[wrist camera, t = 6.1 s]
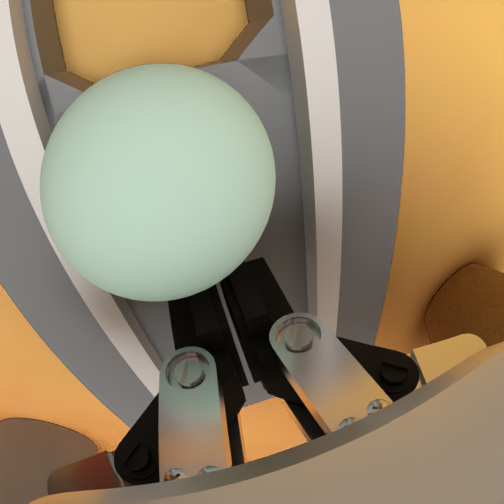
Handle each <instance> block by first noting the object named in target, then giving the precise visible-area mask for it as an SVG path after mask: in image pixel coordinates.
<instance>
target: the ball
mask: <svg viewBox="0 0 504 504" xmlns="http://www.w3.org/2000/svg"><path fill="white" fill-rule="evenodd" d="M275 183H276V172H275V161H274V156H273V151H272V146H271V143H270V141H269V138H268V135H267V132H266V130H265V128H264V126H263V124H262V122H261V120H260V118H259V117H258V115H257V114H256V112H255V111H254V110H253V108H252V107H251V105H250V104H249V103H248V102H247V101H246V100H245V99H244V98H243V97H242V96H241V94H240V93H238V92H237V91H236V90H235V89H234V88H232V87H231V86H230V85H229V84H227V83H226V82H224V81H222V80H221V79H219V78H217V77H216V76H214V75H212V74H210V73H207V72H205V71H202V70H200V69H197V68H193V67H189V66H185V65H179V64H171V63H152V64H145V65H139V66H133V67H130V68H127V69H123V70H120V71H118V72H115V73H113V74H111V75H109V76H107V77H105V78H103V79H101V80H100V81H98V82H96V83H95V84H93V85H92V86H90V87H89V88H88V89H87V90H85V91H84V92H83V93H82V94H81V95H79V96H78V97H77V98H76V99H75V100H74V102H73V103H72V104H71V105H70V106H69V107H68V108H67V109H66V111H65V112H64V114H63V115H62V116H61V118H60V119H59V121H58V122H57V124H56V126H55V128H54V130H53V132H52V134H51V136H50V138H49V141H48V144H47V146H46V149H45V152H44V157H43V161H42V165H41V174H40V200H41V207H42V213H43V216H44V220H45V223H46V226H47V229H48V231H49V233H50V236H51V238H52V240H53V242H54V244H55V245H56V247H57V249H58V250H59V252H60V253H61V255H62V256H63V257H64V258H65V260H66V261H67V262H68V263H69V265H70V266H71V267H72V268H73V269H74V270H75V271H77V272H78V273H79V274H80V275H81V276H82V277H84V278H85V279H86V280H88V281H89V282H90V283H92V284H94V285H95V286H97V287H99V288H101V289H103V290H105V291H107V292H109V293H112V294H114V295H117V296H120V297H124V298H128V299H132V300H140V301H169V300H176V299H180V298H184V297H188V296H191V295H194V294H196V293H199V292H201V291H204V290H206V289H208V288H210V287H211V286H213V285H215V284H217V283H218V282H220V281H221V280H223V279H224V278H225V277H227V276H228V275H229V274H231V273H232V272H233V271H234V270H235V269H236V268H237V267H238V266H239V265H240V264H241V263H242V262H243V261H244V260H245V258H246V257H247V256H248V255H249V254H250V252H251V251H252V250H253V248H254V247H255V245H256V243H257V242H258V240H259V239H260V237H261V235H262V233H263V231H264V229H265V227H266V225H267V222H268V219H269V216H270V213H271V210H272V206H273V200H274V195H275Z"/></svg>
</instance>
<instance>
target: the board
mask: <svg viewBox="0 0 504 504" xmlns="http://www.w3.org/2000/svg"><path fill="white" fill-rule="evenodd" d="M245 3H246V9H247V15H248V21H249V24H248V25H247V26H246V28H245V29H244V30H243V31H242V33H241V34H240V35H239V36H238V37H237V39H236V40H235V41H234V42H233V44H232V45H231V46H230V48H229V49H228V50H227V51H226V53H225V54H224V55H223V57H222V58H221V59H220V61H217V62H211V63H206V64H201V65H197V66H192V67H193V68H197V69H200V70H202V71H205V72H207V73H210V74H212V75H214V76H216V77H217V78H219V79H221V80H222V81H224V82H226V83H227V84H229V85H230V86H231V87H232V88H234V89H235V90H236V91H237V92H238V93H240V94H241V96H242V97H243V98H244V99H245V100H246V101H247V102H248V103H249V104H250V105H251V107H252V108H253V110H254V111H255V112H256V114H257V115H258V117H259V118H260V120H261V122H262V124H263V126H264V128H265V130H266V132H267V135H268V138H269V141H270V143H271V146H272V151H273V156H274V161H275V172H276V183H275V195H274V200H273V206H272V210H271V213H270V216H269V219H268V222H267V225H266V227H265V229H264V231H263V233H262V235H261V237H260V239H259V240H258V242H257V243H256V245H255V247H254V248H253V250H252V251H251V252H250V254H249V255H248V256H247V257H246V258H245V260H244V261H245V262H247V261H250V260H254V259H257V258H260V257H263V258H264V259H265V261H266V263H267V264H268V266H269V268H270V270H271V272H272V273H273V275H274V277H275V279H276V281H277V282H278V284H279V286H280V288H281V290H282V291H283V293H284V295H285V297H286V299H287V300H288V302H289V304H290V306H291V308H292V309H293V311H294V313H298V312H303V313H309V314H312V315H314V316H317V317H318V318H319V319H320V320H322V321H323V322H324V324H325V325H326V326H327V327H328V328H329V329H330V330H331V332H332V333H333V334H334V335H335V336H338V337H341V338H345V339H349V340H353V341H357V342H361V343H365V344H369V345H373V346H374V342H375V338H376V334H377V330H378V326H379V322H380V317H381V313H382V308H383V304H384V299H385V294H386V289H387V284H388V279H389V273H390V268H391V262H392V256H393V250H394V243H395V236H396V229H397V221H398V213H399V205H400V195H401V185H402V173H403V159H404V139H405V65H404V47H403V34H402V23H401V13H400V5H399V0H245ZM93 84H94V83H92V82H89V81H87V80H85V79H83V78H81V77H79V76H77V75H74V74H72V73H70V72H68V71H66V67H65V62H64V58H63V54H62V49H61V44H60V40H59V35H58V29H57V24H56V18H55V13H54V7H53V0H0V283H1V285H2V286H3V288H4V289H5V291H6V292H7V294H8V295H9V296H10V298H11V299H12V301H13V302H14V303H15V305H16V306H17V308H18V309H19V310H20V312H21V313H22V314H23V316H24V317H25V318H26V320H27V321H28V322H29V323H30V325H31V326H32V327H33V329H34V330H35V331H36V332H37V334H38V335H39V336H40V337H41V338H42V340H43V341H44V342H45V343H46V344H47V346H48V347H49V348H50V349H51V350H52V351H53V353H54V354H55V355H56V356H57V357H58V358H59V359H60V360H61V362H62V363H63V364H64V365H65V366H66V367H67V368H68V369H69V370H70V371H71V372H72V373H73V375H74V376H75V377H76V378H77V379H78V380H79V381H80V382H81V383H82V384H83V385H84V386H85V387H86V388H87V389H88V390H89V391H90V392H91V393H92V394H93V395H94V396H95V397H96V398H97V399H99V400H100V401H101V402H102V403H103V404H104V405H105V406H106V407H107V408H108V409H109V410H110V411H112V412H113V413H114V414H115V415H116V416H117V417H118V418H119V419H121V420H122V421H123V422H124V423H125V424H126V425H128V426H129V427H130V428H132V426H133V425H134V424H135V423H136V421H137V420H138V419H139V417H140V416H141V415H142V413H143V412H144V411H145V410H146V408H147V407H148V406H149V404H150V403H151V402H152V400H153V399H154V398H155V396H156V395H157V394H158V392H159V373H160V369H161V365H162V364H163V362H164V360H165V359H166V358H167V357H168V356H169V355H170V354H171V353H173V352H174V351H175V346H174V340H173V334H172V327H171V321H170V314H169V307H168V301H140V300H132V299H128V298H124V297H120V296H117V295H114V294H112V293H109V292H107V291H105V290H103V289H101V288H99V287H97V286H95V285H94V284H92V283H90V282H89V281H88V280H86V279H85V278H84V277H82V276H81V275H80V274H79V273H78V272H77V271H75V270H74V269H73V268H72V267H71V266H70V265H69V263H68V262H67V261H66V260H65V258H64V257H63V256H62V255H61V253H60V252H59V250H58V249H57V247H56V245H55V244H54V242H53V240H52V238H51V236H50V233H49V231H48V229H47V226H46V223H45V220H44V216H43V213H42V207H41V200H40V174H41V165H42V161H43V157H44V152H45V149H46V146H47V144H48V141H49V138H50V136H51V134H52V132H53V130H54V128H55V126H56V124H57V122H58V121H59V119H60V118H61V116H62V115H63V114H64V112H65V111H66V109H67V108H68V107H69V106H70V105H71V104H72V103H73V102H74V100H75V99H76V98H77V97H78V96H79V95H81V94H82V93H83V92H84V91H85V90H87V89H88V88H89V87H90V86H92V85H93ZM216 287H217V290H218V293H219V296H220V299H221V302H222V305H223V308H224V311H225V314H226V317H227V320H228V323H229V326H230V329H231V332H232V335H233V339H234V342H235V345H236V348H237V351H238V354H239V357H240V360H241V363H242V366H243V369H244V372H245V375H246V378H247V380H248V383H249V385H248V386H244V387H243V390H244V393H245V398H246V402H245V403H244V405H243V407H245V406H248V405H251V404H254V403H257V402H260V401H263V400H266V399H269V398H272V397H275V396H273V395H270V394H268V393H267V391H266V390H264V388H263V385H262V383H261V381H260V382H257V383H254V381H253V378H252V375H251V372H250V370H249V367H248V364H247V362H246V359H245V356H244V353H243V351H242V348H241V345H240V342H239V339H238V337H237V334H236V331H235V328H234V325H233V322H232V319H231V317H230V314H229V311H228V308H227V305H226V302H225V299H224V296H223V292H222V289H221V286H220V282H218V283H217V284H216Z"/></svg>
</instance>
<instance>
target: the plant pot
mask: <svg viewBox="0 0 504 504" xmlns="http://www.w3.org/2000/svg"><path fill="white" fill-rule="evenodd" d="M425 324H426V328H427V331H428V335H429V338H430V342H431V344H433V343H436V342H439V341H443V340H446V339H449V338H452V337H455V336H458V335H461V334H468V333H469V334H474V335H476V336H478V337H479V338H481V339H482V340H483V342H484V343H485V344H486V346H487V347H489V346H492V345H494V344H497V343H500V342H504V273H501V272H499V271H496V270H494V269H491V268H488V267H485V266H482V265H479V264H469V265H467V266H465V267H463V268H462V269H460V270H459V271H457V272H456V273H455V274H454V275H453V276H451V277H450V278H449V279H448V280H447V281H446V283H445V284H444V285H443V286H442V287H441V288H440V290H439V291H438V292H437V294H436V295H435V297H434V298H433V300H432V301H431V303H430V305H429V307H428V309H427V312H426V315H425Z"/></svg>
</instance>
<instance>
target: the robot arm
mask: <svg viewBox="0 0 504 504" xmlns="http://www.w3.org/2000/svg"><path fill="white" fill-rule="evenodd" d="M220 286H221V289H222V292H223V296H224V299H225V302H226V305H227V308H228V311H229V314H230V317H231V319H232V322H233V325H234V328H235V331H236V334H237V337H238V339H239V342H240V345H241V348H242V351H243V353H244V356H245V359H246V362H247V364H248V367H249V370H250V372H251V375H252V378H253V381H254V383H257V382H260V381H261V383H262V385H263V388H264V390H266V391H267V393H268V394H270V395H273V396H276V397H279V398H281V401H282V403H283V404H284V406H285V408H286V409H287V411H288V412H289V414H290V415H291V417H292V418H293V420H294V421H295V423H296V424H297V426H298V427H299V429H300V430H301V432H302V433H303V435H304V436H305V438H306V439H307V441H308V442H307V443H304V444H301V445H299V446H296V447H293V448H290V449H288V450H285V451H282V452H279V453H276V454H273V455H270V456H267V457H264V458H261V459H258V460H254V461H251V462H248V463H247V457H246V451H245V445H244V438H243V432H242V425H241V418H240V414H239V411H240V410H241V408H242V407H243V405H244V403H245V402H246V398H245V393H244V390H243V387H244V386H248V385H249V383H248V380H247V378H246V375H245V372H244V369H243V366H242V363H241V360H240V357H239V354H238V351H237V348H236V345H235V342H234V339H233V335H232V332H231V329H230V326H229V323H228V320H227V317H226V314H225V311H224V308H223V305H222V302H221V299H220V296H219V293H218V290H217V287H216V284H215V285H213V286H211V287H210V288H208V289H206V290H204V291H201V292H199V293H196V294H194V295H191V296H188V297H184V298H180V299H176V300H169V301H168V307H169V314H170V321H171V327H172V334H173V340H174V346H175V351H174V352H173V353H171V354H170V355H169V356H168V357H167V358H166V359H165V360H164V362H163V364H162V365H161V369H160V373H159V392H158V394H157V395H156V396H155V398H154V399H153V400H152V402H151V403H150V404H149V406H148V407H147V408H146V410H145V411H144V412H143V413H142V415H141V416H140V417H139V419H138V420H137V421H136V423H135V424H134V425H133V426H132V428H131V429H130V430H129V432H128V433H127V434H126V436H125V437H124V438H123V439H122V441H121V442H120V443H119V445H118V447H117V448H116V450H115V451H112V452H110V453H109V452H108V451H104V452H102V453H99V454H96V455H94V456H91V457H88V458H86V459H83V460H80V461H77V462H75V463H72V464H69V465H66V466H63V467H60V468H57V469H56V470H54V471H53V472H52V473H51V474H50V476H49V478H48V482H47V489H48V494H49V496H45V497H42V498H39V499H36V500H34V501H32V502H30V503H28V504H504V342H500V343H497V344H494V345H492V346H489V347H487V346H486V344H485V343H484V342H483V340H482V339H481V338H479V337H478V336H476V335H474V334H469V333H468V334H461V335H458V336H455V337H452V338H449V339H446V340H443V341H439V342H436V343H433V344H429V345H426V346H422V347H419V348H415V349H413V350H412V352H411V353H408V354H404V353H401V352H399V351H394V350H390V349H386V348H382V347H377V346H373V345H369V344H365V343H361V342H357V341H353V340H349V339H345V338H341V337H338V336H335V335H334V334H333V333H332V332H331V330H330V329H329V328H328V327H327V326H326V325H325V324H324V322H323V321H322V320H320V319H319V318H318V317H317V316H314V315H312V314H309V313H303V312H298V313H294V311H293V309H292V308H291V306H290V304H289V302H288V300H287V299H286V297H285V295H284V293H283V291H282V290H281V288H280V286H279V284H278V282H277V281H276V279H275V277H274V275H273V273H272V272H271V270H270V268H269V266H268V264H267V263H266V261H265V259H264V258H263V257H260V258H257V259H254V260H250V261H247V262H245V261H243V262H242V263H241V264H240V265H239V266H238V267H237V268H236V269H235V270H234V271H233V272H232V273H231V274H229V275H228V276H227V277H225V278H224V279H223V280H221V281H220Z"/></svg>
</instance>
